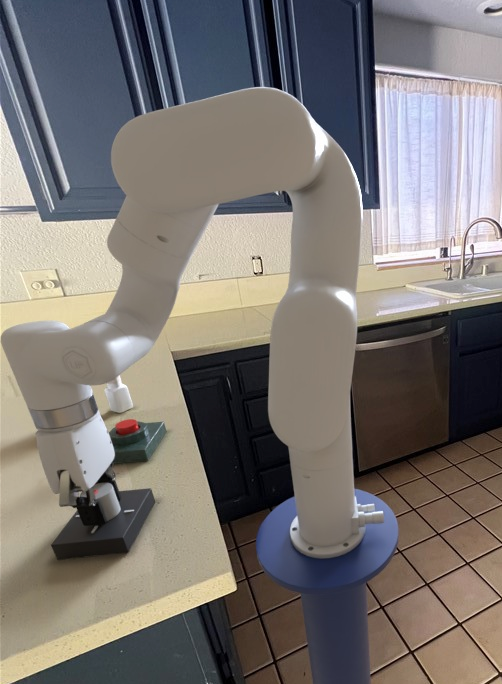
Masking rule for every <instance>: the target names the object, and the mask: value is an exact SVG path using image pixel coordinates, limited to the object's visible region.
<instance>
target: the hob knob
mask: <svg viewBox="0 0 502 684" xmlns="http://www.w3.org/2000/svg"><path fill="white" fill-rule="evenodd" d="M93 487H94V492H95V497H96V501H100V503H101V506H102V508H103V511H104V514H105V516H106V519H107V521H108V520H110V519H112V518H114V517H115V516H117V515H118V514H119V512H120V510H121V508H120V505H119V502H118V499H117V497H116V494H115V491H114V488H113V486H112V484H110V483H98V484H95V485H93ZM79 497H87V496H86V491H85V492H84V491H82V492H80V493H79Z"/></svg>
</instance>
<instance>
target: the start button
mask: <svg viewBox="0 0 502 684" xmlns="http://www.w3.org/2000/svg"><path fill="white" fill-rule="evenodd" d="M115 427H116V430H117V433H118V435H127V434H130V433H133V432H135V431H137V430H139V427H138V423H137V420H136V419H135V418H127V419H124V420H121V421H119V422H117V423H116V424H115V425H114V428H115Z"/></svg>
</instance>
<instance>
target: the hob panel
mask: <svg viewBox="0 0 502 684" xmlns="http://www.w3.org/2000/svg"><path fill="white" fill-rule="evenodd" d="M119 492H120V495H121V500H120V501H119V505H120V508H121V510H120V512H119V514H118V515H117V516H115V517H114V518H112V519H110V520H108V521H106V523H105V524H101V525H91V526H84V525H83V523H82V521H81V518H80V516H79V513H78V511H77V510H76V511H75V512H74V513H73V515H72V517H70V519H69V521H67V523H66V524H65V525H64V526H63V528H62V529H61V531H60V532H59V533H58V535H56V537H55V539H54V540H53V541H52V542H51V543H50V547H51V549H52V552H53V554H54V556H55V558H56V560H57V561H61V560H70V559H71V560H72V559H80V558H88V557H97V556H99V557H100V556H108V555H116V554H117V555H118V554H126V553H127V554H128V553H129V552H130V550H131V549H132V546H133V545H134V543H135V541H136V539H137V537H138V535H139V534H140V531H141V529H142V528H143V526H144V524H145V523H146V521H147V518H148V516H149V515H150V513H151V511H152V509H153V507H154V505H155V504H156V499H155V496H154V493H153V489H152V488H151V487H149V488H139V489H137V488H136V489H129V490H127V489H125V490H119Z"/></svg>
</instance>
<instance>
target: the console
mask: <svg viewBox="0 0 502 684" xmlns="http://www.w3.org/2000/svg"><path fill="white" fill-rule="evenodd" d="M136 421H137V420H136ZM137 423H138V427H139V430H137V431H135V432H133V433H130V434H127V435H118V433H117V430H116V427H115V426H114V427H113V428H111V429H110V431H108V433H109V436H110V439H111V441H112V445H113V448H114V452H115V457H114V459H113V463H114V464H125V463H136V462H148V461H149V460H150V458H151V457H152V455H153V454H154V452H155V451H156V449H157V447H159V445H160V443H161V441H162V440H163V438H164V436H165V435H166V433H167V428H166V424H165V421H155V422H154V421H153V422H152V421H151V422H144V421H137Z"/></svg>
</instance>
